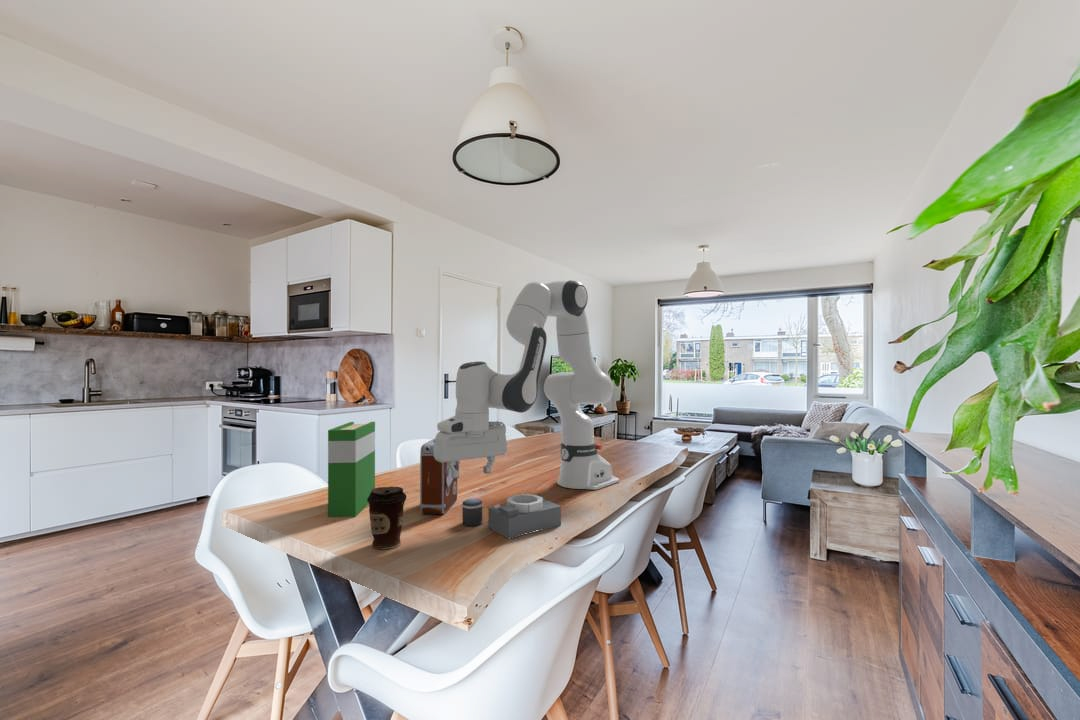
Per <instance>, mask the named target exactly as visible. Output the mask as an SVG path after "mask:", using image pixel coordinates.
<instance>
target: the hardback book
mask: <svg viewBox="0 0 1080 720" xmlns="http://www.w3.org/2000/svg"><path fill="white" fill-rule="evenodd" d="M327 439H328V440H327V497H328V498H327V517H328V518H356V517H357V516H358V515H359V514H361V512H362V511H363V510H364V509H365V508H366V507H367V506H369V502H368V501H367V498H368V497H369V495H370V493H371V490H372V489H375V488H376V421H370V422H368V423H355V422H354V421H349V422H347V423H343V424H342V425H338V426H336V427H334V428H330V429H328V430H327Z"/></svg>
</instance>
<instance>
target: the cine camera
mask: <svg viewBox="0 0 1080 720" xmlns="http://www.w3.org/2000/svg"><path fill="white" fill-rule="evenodd" d="M434 442H435V438H433V439H431V440H428V441H427V442H425V443H423V444H422V445H421V447H420V451H419V452H420V456H419V457H420V458H419V462H420V463H419V465H420V467H419V469H420V471H419V472H420V473H419V475H420V478H419V479H420V481H419V483H420V484H419V486H420V490H419V493H420V495H419V496H420V498H419V499H420V500H419V502H420V503H419V504H420V505H419V506H420V513H421V514H423V515H424V514H425V515H426V514H428V515H444V514H446V513H448V511H449V510H450V509H451V508H452V507H453V505H455V503H457V500H458V478H452V477H451V470H450V468H449V467H448V465H447V462H438V461H436V459H435V458H434ZM460 463H461V460H458V461H456V465H453V466H454V467H455V469H456V470H457V471H459V472H460Z"/></svg>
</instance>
